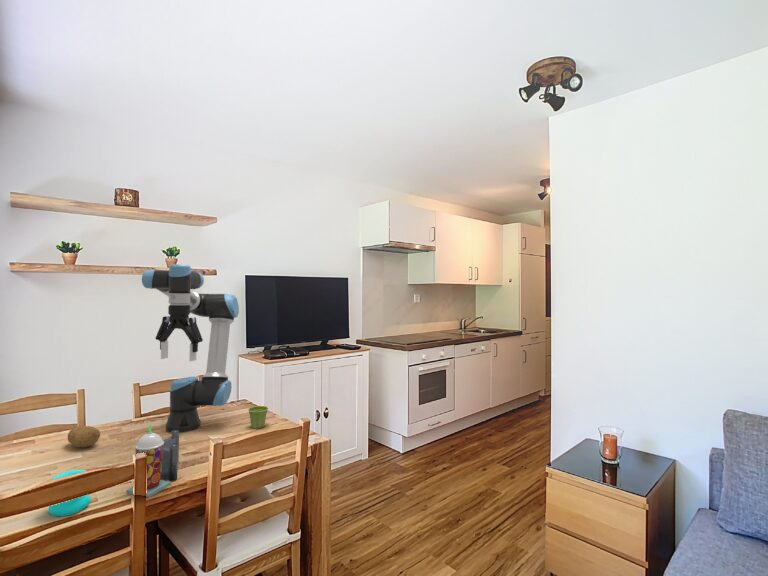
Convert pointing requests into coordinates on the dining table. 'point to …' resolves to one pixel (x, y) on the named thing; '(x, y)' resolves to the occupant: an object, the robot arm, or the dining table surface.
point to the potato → (83, 436)
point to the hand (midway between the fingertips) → (178, 359)
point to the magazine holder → (170, 456)
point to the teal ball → (71, 505)
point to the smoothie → (152, 456)
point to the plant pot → (258, 416)
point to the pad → (154, 490)
